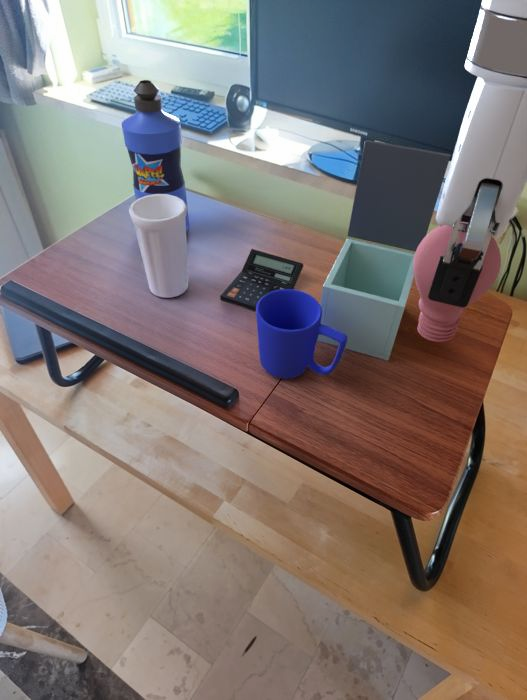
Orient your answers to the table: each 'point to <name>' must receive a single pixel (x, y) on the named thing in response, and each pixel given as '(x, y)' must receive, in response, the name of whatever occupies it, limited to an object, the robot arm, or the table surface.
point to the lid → (396, 194)
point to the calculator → (261, 279)
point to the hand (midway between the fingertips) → (452, 274)
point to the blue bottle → (154, 146)
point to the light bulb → (434, 316)
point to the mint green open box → (367, 296)
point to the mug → (292, 333)
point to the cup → (162, 242)
